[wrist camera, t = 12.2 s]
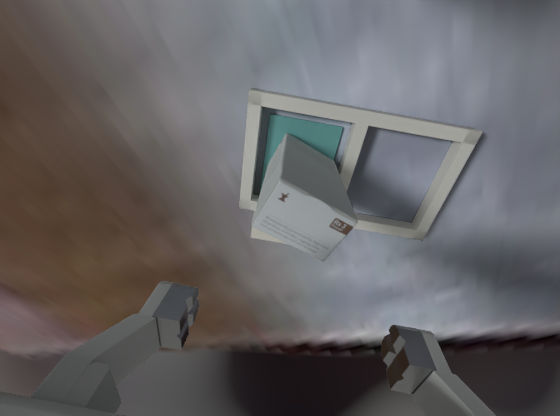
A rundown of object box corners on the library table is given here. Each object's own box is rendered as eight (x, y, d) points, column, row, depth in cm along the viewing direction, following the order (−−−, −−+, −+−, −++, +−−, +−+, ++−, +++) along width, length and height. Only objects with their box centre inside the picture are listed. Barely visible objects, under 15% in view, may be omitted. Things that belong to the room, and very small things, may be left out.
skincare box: (267, 165, 28) (243, 229, 17) (287, 128, 25) (275, 176, 15) (315, 192, 29) (320, 267, 18) (339, 159, 27) (360, 223, 16)
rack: (473, 127, 24) (482, 131, 23) (401, 262, 33) (405, 271, 32) (252, 88, 24) (249, 89, 23) (239, 233, 33) (236, 240, 32)
